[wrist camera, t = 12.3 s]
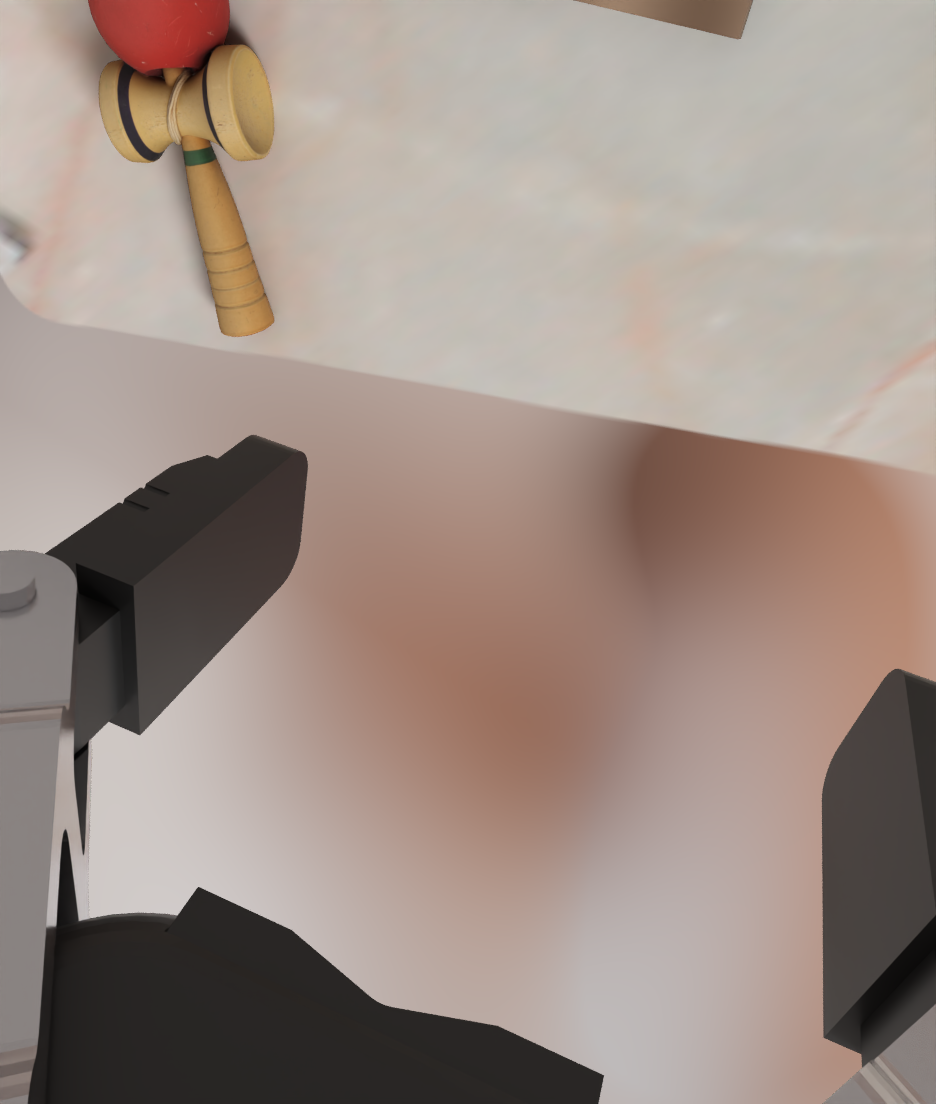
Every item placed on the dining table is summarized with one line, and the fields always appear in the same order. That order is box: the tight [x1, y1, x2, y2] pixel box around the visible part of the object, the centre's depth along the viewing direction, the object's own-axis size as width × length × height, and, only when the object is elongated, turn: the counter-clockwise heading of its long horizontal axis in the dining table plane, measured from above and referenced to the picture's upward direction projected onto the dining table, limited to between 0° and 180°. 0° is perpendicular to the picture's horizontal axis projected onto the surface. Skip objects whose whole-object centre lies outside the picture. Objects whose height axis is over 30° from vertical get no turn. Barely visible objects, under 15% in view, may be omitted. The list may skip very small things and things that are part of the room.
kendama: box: [88, 0, 274, 337], centre depth 42 cm, size 8×6×18 cm
